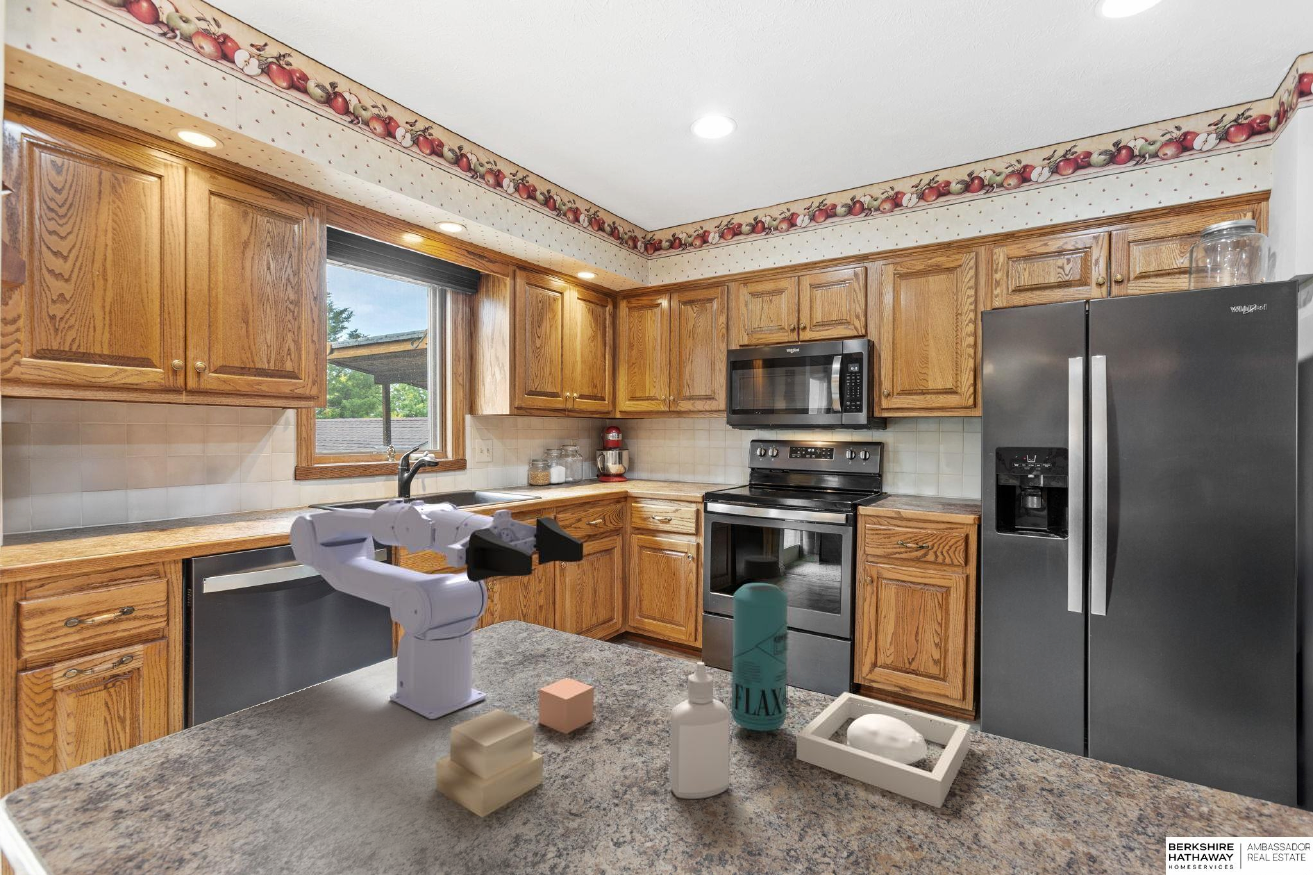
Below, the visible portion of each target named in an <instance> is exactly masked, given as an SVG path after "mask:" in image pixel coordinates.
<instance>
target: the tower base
mask: <svg viewBox="0 0 1313 875" xmlns="http://www.w3.org/2000/svg"><path fill="white" fill-rule="evenodd" d="M543 757H544V756H543V754H541V753H538V752H536V751H534V750H533V756H532V757H530V758H528V759H526V760H524V761H522V762H520V763H518V764H516V765H514V766H512V767H510V768H508V769H506V770H504V771H502V772H500V773H498V774H496V775H494V776H492V777H490V778H488V779H486V780H485V779H483V778H481V777H480V776H478V775H476V774H474V773H473V772H471V771H469V770H468V769H466V768H464V767H463V766H461V765H459V764H457V763H456V762H454V761H452V760H451V759H450V755H448V756H445V757H444V758H441V759H438V760H436V768H435V769H436V772H435V773H436V774H435V776H436V777H435V778H436V779H435V781H436V782H435V784H436V785H435V789H436V791H439V792H440V793H442V794H443V795H445V796H446V797H448V798H450V799H451V800H453V801H455V802H456V803H457V804H459V805H461V806H463V807H464V808H466V809H467V810H469V811H471V812H472V813H474V814H475V815H477V816H479V817H480V818H484V817H486V816H488V815H490V814H491V813H493V812H494V811H495V812H496V810H498V809H500V808H501V807H503V806H505V805H507V804H508V803H510V802H512V801H513V800H515V799H517V798H519V797H520V796H522V795H523V794H526V793H527V792H529V791H531V790H533V789H534V788H536V787H537V786H539V785H541V784H542V783H543V770H544V768H543V765H544V764H543V763H544V760H543V759H544V758H543Z"/></svg>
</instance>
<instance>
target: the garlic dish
mask: <svg viewBox="0 0 1313 875" xmlns="http://www.w3.org/2000/svg"><path fill="white" fill-rule="evenodd" d="M845 701H847V702H851V703H856V704H851V703H850V704H849V703H846V702H845ZM857 704H862V705H857ZM863 705H868V706H863ZM869 706H874V707H875V708H874V707H869ZM879 708H881V709H879ZM894 712H897V713H894ZM867 714H881V715H886V716H890V717H893V718H896V719H898V720H901V721H903V722H905V723H906V724H908V725H909V726H910V727H912V728H913V729H914V730H915V731H916V732H918V733H919V734H921V735H922V736H923V738H924V740H925V741H926V740H927V741H931V742H934V743H937V744H940V745H944V746H945V749H944V750H943V752H942V754H941V756H940V757H939V759H938V761H937V762H936V763H935V764H936V765H935V766H934V767H933V770H932V771H931V772H930V771H927V770H923V769H921V768H918V767H914V766H911V765H910V764H906V765H905V764H902V763H899V762H896V761H893V760H890V759H887V758H883V757H880V756H877V755H874V754H871V753H868V752H865V751H861V750H858V749H855V748H852V747H849V746H848V745H847V744H846V745H845V744H842V743H839V742H835V741H833V740H829V739H830V737H832V736H833V735H834V734H835V732H837V731H838V729H839V728H841V726H843V724H844V723H845V722H846V721H848V720H849V719H854V720H856V719H858V718H860V717H862V716H864V715H867ZM905 714H907V715H905ZM909 715H913V716H909ZM918 717H920V718H918ZM925 719H926V720H925ZM929 720H932V721H933V722H930V721H929ZM937 723H940V724H937ZM941 724H945V725H941ZM946 725H947V726H946ZM949 726H954V727H949ZM964 729H965V730H964ZM966 730H968V731H966ZM970 749H971V725H970V724H968V723H964V722H961V721H957V720H952V719H949V718H946V717H945V718H944V717H941V716H938V715H933V714H929V713H927V712H923V711H922V712H921V711H918V710H914V709H911V708H907V707H903V706H900V705H896V704H892V703H888V702H884V701H881V700H876V699H873V698H869V697H865V696H862V695H858V694H853V693H850V692H847V691H843V693H841V694H840V695H839V696H838V697H837V698H836V699H834V701H833V702H832V703H830V704H829V705H828V706H827V707H826V708H825V709H824V710H823V711H822V712H821V713H819V714H818V715H817V716H816V717H815V718H814V719H813V720H811V721H810V723H808V724H807V725H806V726H804V728H803V729H801V730H800V731H799V732H798V733H797V734H796V760H800V761H802V762H805V763H808V764H811V765H814V766H817V767H819V768H823V769H825V770H827V771H831V772H834V773H837V774H839V775H842V776H845V777H848V778H850V779H851V778H852V779H853V780H857V781H859V782H862V783H866V784H868V785H871V786H875V787H877V788H880V789H883V790H886V791H888V792H892V793H894V794H897V795H899V796H903V797H906V798H909V799H910V800H911V799H912V800H914V801H917V802H920V803H923V804H926V805H929V806H931V807H934V808H938V809H941V807H942V806H943V804H944V801H945V800H946V798H947V795H948V794H949V791H950V790H951V788H950V787H952V786H953V784H952V783H954V782H955V780H956V777H957V775H958V773H959V771H960V769H961V768H962V765H963V763H964V761H965V759H964V758H966V757H967V755H968V753H969V751H970ZM966 754H967V755H966ZM965 756H966V757H965ZM963 760H964V761H963ZM958 770H959V771H958ZM954 779H955V780H954ZM953 781H954V782H953Z"/></svg>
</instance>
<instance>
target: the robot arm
mask: <svg viewBox="0 0 1313 875" xmlns="http://www.w3.org/2000/svg"><path fill="white" fill-rule="evenodd" d="M535 522H536V524H535V526H534V525H533V524H532V525H531V524H528V523H525V522H521V521H518V520H514V519H513V518H512V513H511V510H509V509H500V510H498V509H497V510H495V511H494V513H493V516H489V515H484V514H480V513H475V512H472V511H471V512H470V511H466V510H463V509H459V508H458V507H457V505H455V504H453V503H450V502H449V501H443V502H440V503H433V504H425V501H424V500H412V501H411V503H405V500H404V498H392V499H389V500H388V502H387V503H384V504H382V505H380V506H379V507H377V508H376V510H375V509H368V508H367V509H366V508H359V507H358V508H351V509H350V508H348V509H338V510H331V511H324V512H318V513H317V512H316V513H312V514H309V515H299V516H297V517H296V518H295V520H294V521H293V522H292V524H291V527H290V531H289V542H290V547H291V549H292V551H293V552H292V553H293V556H294V557H295V558H294V559H296V562H297V563H298V564H302V565H304V566H306V567H311V568H313V569H314V570H315V571H316V572H317V573H318V574H319V575H320V576H321V577H322V578H323V579H324V580H325V581H326V582H327V583H328V584H329V585H330V586H331V587H332V588H334V589H335V590H336V591H340V592H342V593H344V594H345V593H346V594H348V595H350V596H351V595H352V596H354V597H357V598H361V599H363V600H366V601H370V602H371V603H372V602H373V603H376V604H378V605H381V606H385V607H387V608H389V611H390V612H389V613H390V617H391V621H393V622H395V623H398V624H399V625H400V626H401V627H402V629H403V630H404V633H403V634H402V636H401V637H400V640H399V642H398V645H397V650H396V652H397V653H396V655H397V656H396V692H395V693H392V694H390V695H389V699H390V700H391V701H393V702H394V703H395V702H396V703H397V704H399V705H401V706H403V707H406V708H407V709H409V710H411V711H413V712H415V713H417V714H420V715H421V716H423V717H425V718H427V719H430V720H435V719H438V718H440V717H443V716H445V715H448V714H450V713H452V712H455V711H458V710H460V709H463V708H465V707H467V706H470V705H473V704H475V703H478V702H480V701H483V700H485V699H487V693H485V692H483V691H481V690H478V689H476V688H473V636H474V634H473V632H474V631H473V628H476V627H478V625H479V624H478V623H479V622H478V621H479V618H480V617H481V616H483V615H484V613H485V611H486V608H487V605H488V591H487V587H486V583H485V582H484V581H485V580H488V579H491V578H495V577H525V576H530V575H532V574H533V554H532V553H533V552H534V551H535V552H538V556H537V557H538V558H537V559H538V560H537V561H538V562H537V564H538V565H537V566H542V565H546V564H548V563H551V562H552V563H553V562H563V563H564V562H565V563H576V562H577V563H578V562H581V561H583V560H584V543H583V542H582V541H581V540H580V539H577V538H576V537H574V536H572V535H571V534H569V533H568V532H566V531H565V530H564V529H562V527H560V525H559V524H558V523H557V521H556V520H555V519H554V518H552V517H547V516H545V517H539V518H536V521H535ZM373 539H374V540H375V541H376V542H377V543H379V544H382V545H386V546H393V547H404V548H406V552H407V553H408V554H416V553H419V552H422V551H428V550H429V551H432V552H435V553H439V554H441V555H445V561H446V562H445V564H446V566H451V567H454V568H457V569H458V568H462V567H465V566H466V570H465V571H463V572H461V573H458V574H456V573H455V574H454V573H434V574H430V573H429V574H428V573H424V572H419V571H417V570H412V569H410V568H409V569H408V568H405V567H402V566H401V567H400V566H396V565H393V564H388V563H385V562H383V561H382V562H381V561H377V560H375V559H376V553H375V546H374V545H375V544H374V540H373Z"/></svg>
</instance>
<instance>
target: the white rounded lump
mask: <svg viewBox="0 0 1313 875" xmlns="http://www.w3.org/2000/svg"><path fill="white" fill-rule="evenodd" d="M846 738H847V741H846V746H849V747H852V748H855V749H858V750H861V751H865V752H868V753H871V754H874V755H877V756H880V757H883V758H887V759H890V760H893V761H896V762H899V763H902V764H905V765H911V764H913V763H917V762H918V761H920V760H921V759H923V758H927V759H928V757H927V756H926V755H927V754H928V747H927V743H926V739H924V738H923V736H922V735H921V734H919V733H918V732H916V731H915V730H914V729H913V728H912V727H910V726H909V725H908V724H906V723H905V722H903V721H901V720H898V719H896V718H893V717H890V716H886V715H881V714H867V715H864V716H862V717H860V718H858V719H854V721H852V723H850V725H849V726H848V728H847V730H846Z"/></svg>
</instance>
